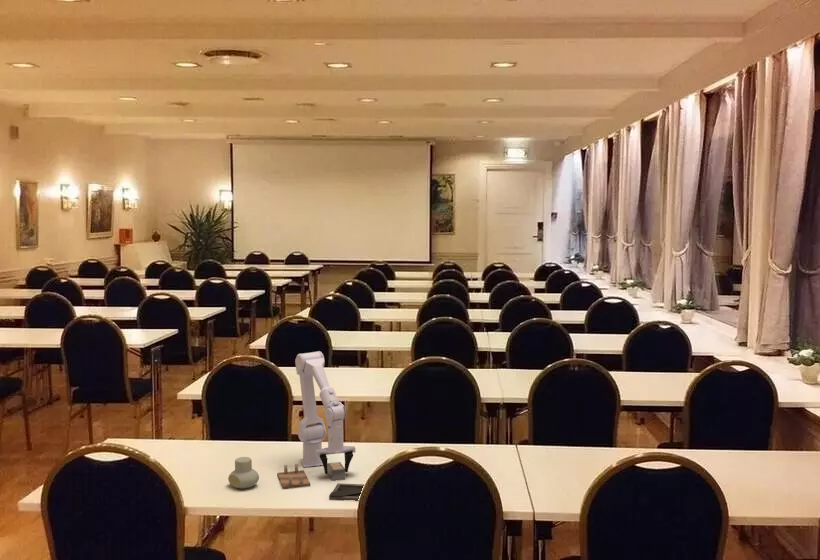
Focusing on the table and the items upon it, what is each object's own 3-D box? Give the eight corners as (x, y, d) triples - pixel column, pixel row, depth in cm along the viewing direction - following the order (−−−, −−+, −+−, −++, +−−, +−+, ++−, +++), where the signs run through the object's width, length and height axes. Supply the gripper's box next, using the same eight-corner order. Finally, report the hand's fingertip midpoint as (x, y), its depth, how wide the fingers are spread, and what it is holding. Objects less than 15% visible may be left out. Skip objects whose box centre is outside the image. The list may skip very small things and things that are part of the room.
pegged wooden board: (277, 475, 299) (277, 465, 299) (303, 472, 302) (303, 462, 302) (282, 489, 285) (282, 478, 284) (310, 486, 288) (310, 475, 287)
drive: (327, 473, 302) (327, 462, 301) (340, 472, 303) (340, 461, 303) (332, 481, 293) (332, 470, 293) (345, 480, 294) (345, 469, 294)
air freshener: (225, 485, 289) (224, 458, 288) (243, 479, 295) (243, 453, 294) (243, 492, 282) (243, 465, 281) (262, 486, 288) (261, 459, 287)
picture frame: (329, 501, 275) (380, 503, 272) (329, 495, 274) (380, 497, 272) (337, 487, 288) (386, 489, 285) (337, 482, 288) (386, 484, 285)
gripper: (318, 441, 291) (318, 478, 292) (357, 438, 295) (357, 473, 296) (314, 436, 297) (315, 471, 299) (352, 433, 301) (353, 467, 303)
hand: (336, 472), depth 298 cm, fingers open, 7 cm apart
